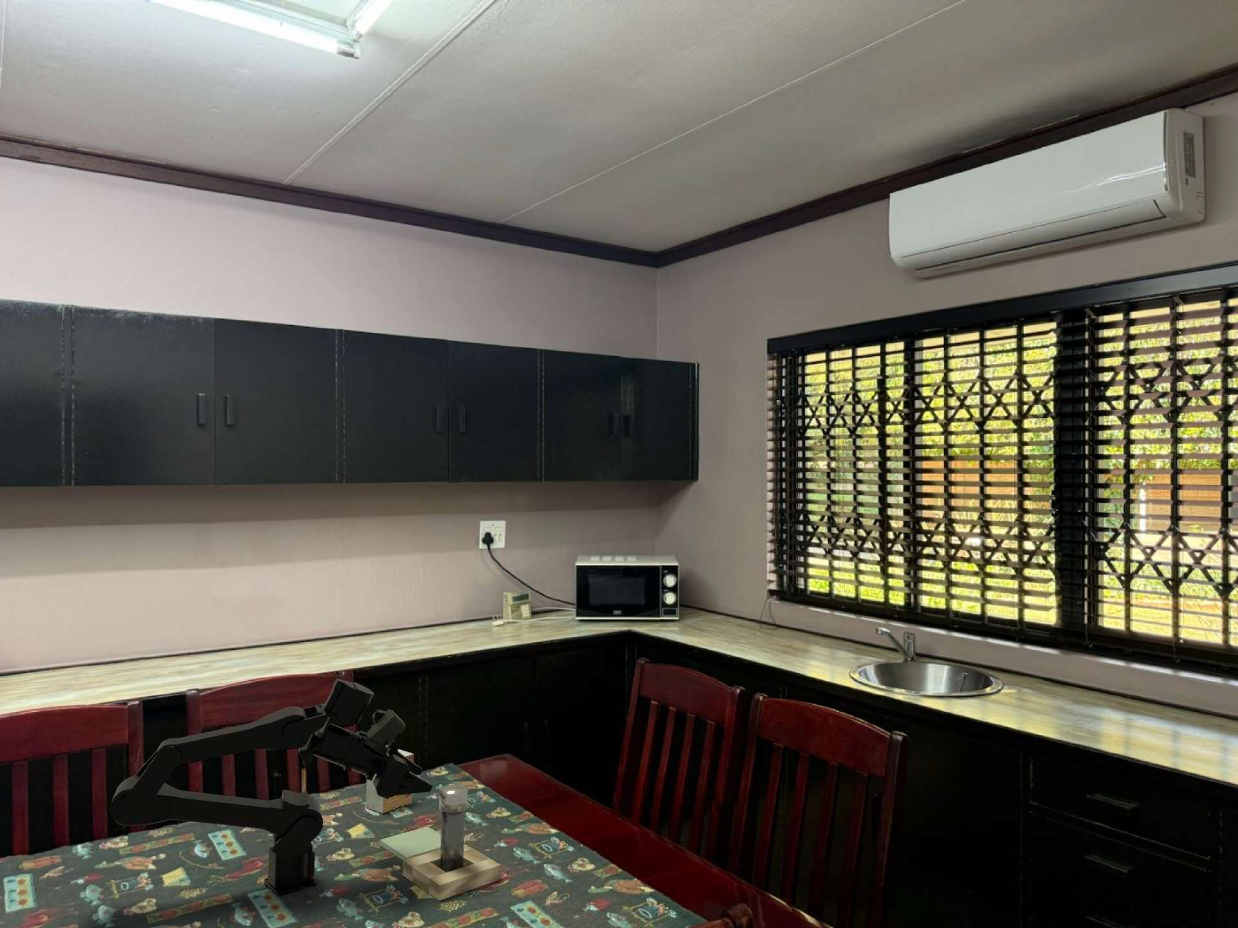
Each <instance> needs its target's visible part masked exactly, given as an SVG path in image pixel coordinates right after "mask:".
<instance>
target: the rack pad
mask: <svg viewBox="0 0 1238 928" xmlns="http://www.w3.org/2000/svg"><path fill="white" fill-rule="evenodd" d="M440 843H441V833H440V832H437V831H436V830H434V829H433V828H430V827H429V826H425V827H420V828H418V829H414V830H411V831H407V832H402V833H399V834H396V835H392V836H389V837H385V838H382V839H380V840H379V846H381V847H382V848H383V849H385V850H386V851H388V852H390V853H391V854H392V855H394V856H396V857H397V858H399V859H400V860H401V861H402V862H403V861H404V860H407V859H411V858H414V857H417V856H421V855H424V854H427V853H431V852H434V851H437V850H440Z"/></svg>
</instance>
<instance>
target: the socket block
mask: <svg viewBox="0 0 1238 928" xmlns="http://www.w3.org/2000/svg"><path fill="white" fill-rule="evenodd" d="M402 876H403V877H405V878H406V879H407V880H409V881H410V882H412V883H413V884H414V885H416V886H417V887H419V888H420V889H422V890H423V891H425V892H426V893H428V894H429V895H431V896H432V897H433V898H435V899H436V900H437V901H443V900H445V899H449V898H450V897H453V896H457V895H460V894H462V893H465V892H468V891H471V890H475V889H477V888H480V887H482V886H485V885H489V884H492V883H494V882H497V881H500V879H501V876H502V864H501V863H499V862H497V861H495V860H493V859H492V858H490V857H488V856H486V855H485V854H483V853H481V852H479V851H478V850H475V848H473V847H471V846H469V845H467V844H466V843H464V867H463V868H460V869H456V870H453V871H450V872H447V873H446V872H445V871H443V870H441V869H440V850H437V851H434V852H431V853H427V854H424V855H421V856H417V857H414V858H411V859H407V860H404V861H403V860H402Z"/></svg>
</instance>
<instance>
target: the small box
mask: <svg viewBox="0 0 1238 928" xmlns="http://www.w3.org/2000/svg"><path fill="white" fill-rule="evenodd" d="M397 749H398V748H397ZM398 751H399V752H400V753H401V754H403V755H404V756H405V757H407V758H408V759H409V760H411V761H412V762H413V763H415V762H414V761H415V759H414V757H415V755H414V753H412V752H408V751H405V750H402V749H398ZM376 775H377V774H375V776H374V778H373V780H372V781H370V780H368V779H366V789H365V791H366V792H365V793H366V794H365V808H366V809H369V810H371V811H375V812H377V813H380V814H385V813H388V812H390V811H393V810H396V808H397V809H400V808H401V807H400V806H403V807H405V806H404V805H407V804H409V803H412V804H413V795H414V794H405V795H398V796H393V797H390V798H389V799H386V798H383V797H380V796H378V795H377V792H376V790H375V787H374V784H373V781H374V779H375V777H376ZM407 806H408V805H407ZM399 807H400V808H399Z"/></svg>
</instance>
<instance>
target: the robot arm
mask: <svg viewBox="0 0 1238 928" xmlns="http://www.w3.org/2000/svg"><path fill="white" fill-rule="evenodd" d="M331 688H332V689H331V691H330V693H329V695H328V696H327V699H326V700H325V702H324V703H320V704H316V705H311V706H308V707H305V708H302V707H299V706H296V705H295V706H288V707H285V708H284V707H283V708H281V709H279V710H276V711H274V712H271V713H269V714H267V715H264V716H263V717H260V718H259V719H257V720H254V721H252V722H249V723H245V724H241V725H235V726H230V727H226V728H220V729H216V730H211V731H206V732H202V733H197V734H192V735H187V736H184V737H183V736H182V737H173V738H172V737H169V738H167V739H165V740H163V741H162V742H161V743H160V744H159V746H158V748H157V750H155V751H154V753H153V754H152V756H150V757H149V758H148V759H147V760H146V762H145V763H144V764H143V765H142V766H141V767H140V768H139V770H138V771H137V772H136V773H135V774H134V775H131V776H129V777H128V778H126V779H124V780H123V781H122V782H121V783H120V784H119V785H118V786H117V788H116V790H115V793H114V795H113V798H112V800H111V803H110V804H109V805H110V806H109V811H110V817H112V819H113V820H114V822H115V823H116V824H118V825H120V826H124V827H131V826H132V827H133V826H146V825H147V826H149V825H154V824H159V823H162V822H169V821H181V822H189V823H199V824H200V823H201V824H209V825H219V826H227V827H238V828H248V829H255V830H256V829H257V830H263V831H266V832H268V833H270V834H272V846H271V847H269V848H268V865H267V867H268V869H267V873H268V875H267V877H265V878H264V879H263V883H264V884H265V885H266V886H267V887H268V888H270V890H272V891H273V892H274V893H275V894H276V895H278V896H281V895H285V894H287V893H292V892H294V891H298V890H301V889H304V888H308V887H311V886H315V885H317V880H316V879H314V877H315V873H316V872H315V870H316V852H315V851H314V849H313V848H314V847H313V840H315V839H316V838H318V837H319V835H320V834H321V833H322V830H323V828H324V818H323V813H322V809H321V805H320V803H319V802H318V800H317V799H316V798H315V797H314V796H310V795H308V791H303V792H296V791H292V790H289V789H282V791H281V792H282V793H281V794H282V795H281V797H280V798H275V799H269V800H265V799H257V798H249V797H241V796H240V797H239V796H232V795H231V796H230V795H224V794H223V795H222V794H214V793H208V792H197V791H190V790H189V791H188V790H182V789H181V790H180V789H178V788H175V786H171V785H170V784H167V783H166V782H167V780H168V779H169V777H171V775H172V773H173V772H175V770H176V769H177V767H181V766H184V765H185V766H186V765H189V764H194V763H199V762H203V761H207V760H212V759H216V758H221V757H226V756H230V755H235V754H239V753H244V752H249V751H254V750H256V751H257V750H265V751H289V750H298V755H300V757H301V758H302V761H303V766H304V767H309V765H310V763H311V762H312V760H313V758H314V757H317V758H319V759H321V760H325V761H327V762H330V763H331V764H332V763H333V764H335V765H337V766H340V767H342V768H343V771H345V772H347V773H351V771H353V772H355V773H357V774H361V775H363V776H365V779H366V780H367V779H368V780H370V781H372V780H373V778H374V776H375V774H377V775H376V777H375V779H374V781H373V784H374V787H375V790H376V792H377V795H378V796H380V797H383V798H386V799H389V798H390V797H393V796H398V795H405V794H413V795H414V794H422V793H423V794H424V793H430V792H431V791H432V789H433V785H432V784H431V783H429V782H428V781H426V780H424V779H423V778H422V777H420V776H421V775H422V774H423V771H424V770H423V768H422V767H420V766H419V765H417V764H416V763H415V762H414V763H413V762H412V761H411V760H409V759H408V758H407V757H405V756H404V755H403V754H401V753H400V752H399V751H398V746H397V743H396V741H395V738H396V737H397V736H398V735H400V734H402V733H403V732H404V730H405V729H406V727H407V725H406V724H405V722H404V720H403V719H402V718H400V717H399V715H397V713H395V712H394V710H393V709H387V710H386V711H385V710H381V709H376V711H375V712H374V713H373V714H372V719H373V723H374V724H371V728H370V729H369V730H368V731H367V732H365V731H363V730H359V731H358V730H357V731H356V733H355V732H354V731H351V730H349V729H346V728H351V727H354V726H355V725H358V724H360V722H361V720H362V719H363V718H362V717H363V716H364V714H365V712H366V710H367V708H368V706H369V705H370V702H371V700H372V699H373V697H374V695H375V693H374V691H372V690H371V689H370V688H368V687H366V686H364V685H362V684H360V683H358V682H355V681H353V682H351V681H349V680H343V679H340V678H336V679H335V681H334V683H333V685H332V687H331ZM334 723H335V724H334ZM336 724H337V725H336ZM343 727H344V728H343Z"/></svg>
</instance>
